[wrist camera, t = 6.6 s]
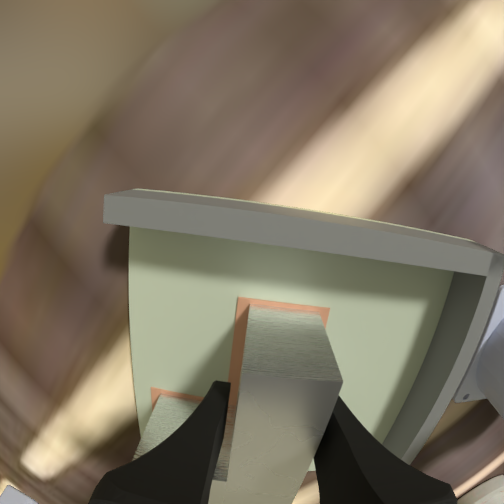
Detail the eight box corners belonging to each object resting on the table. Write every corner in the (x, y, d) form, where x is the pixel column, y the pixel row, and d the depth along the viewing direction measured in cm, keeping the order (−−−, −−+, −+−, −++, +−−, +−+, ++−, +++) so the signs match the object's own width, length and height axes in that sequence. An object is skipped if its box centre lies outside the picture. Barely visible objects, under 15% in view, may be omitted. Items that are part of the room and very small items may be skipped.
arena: (469, 239, 13) (507, 255, 10) (377, 461, 17) (387, 493, 14) (137, 188, 13) (104, 194, 10) (145, 442, 17) (131, 475, 14)
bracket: (282, 445, 16) (285, 514, 11) (163, 429, 16) (139, 494, 11) (318, 311, 13) (343, 381, 8) (159, 290, 13) (111, 349, 8)
